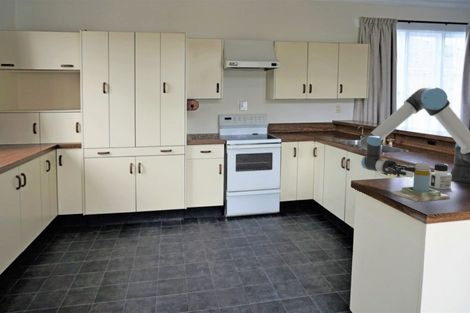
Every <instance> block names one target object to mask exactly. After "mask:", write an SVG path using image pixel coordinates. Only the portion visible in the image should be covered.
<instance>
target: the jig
mask: <svg viewBox="0 0 470 313" xmlns="http://www.w3.org/2000/svg"><path fill="white" fill-rule="evenodd" d="M392 194H393V195H397V196H399V197H402V198H405V199H407V200H410V201H414V202H416V203H417V202H426V201H427V202H428V201H438V200H448V199H450V198H451V196H450V195H447V194H444V193H442V191H440V190H438V189H432V188H430V187H429V192H423V193H420V192H417V191H413V186H405V187H401V190H392Z"/></svg>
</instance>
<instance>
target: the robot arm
mask: <svg viewBox="0 0 470 313" xmlns="http://www.w3.org/2000/svg"><path fill="white" fill-rule="evenodd" d="M450 105H451V102H450V100H448V94H447V92H446V91H445V90H444V89H443V88H440V87H435V86H430V87H421V88H420V89H417V90H416V91H415V92H413V93H412V94H411V95H410V96H409V97H408V98H407V99H406V100H404V101H403V105H401V106H400V107H399V108H398V109H397V110H396V111H394V112H393V113H392V114H391V115H389V116H388V117H387V118H386V119H385V120H383V122H382V123H381V124H379V125H378V126H377V127H375V129H373V130H372V131H371V132H370V133H369V134H367V135H366V136H363V137H362V138H361V139H360V140H359V145H360V147H361V148H362V149H363V150H365V151H366V154H365V155H364V157H363V158H362V160H361V161H360V162H361V163H360V164H361V166H362V168H363V169H366V170H368V171H372V172H373V171H374V172H378V173H381V174H387V175H393V176H397V177H400V176H402V177H407V178H410V179H411V178H413V179H414V172H415V170H416V165H405V164H397V162H396V161H395V160H391V159H386V158H381V150H382V149H381V148H382V141H383V140H384V139H385V138H387V137H388V135H390V134H391V133H392V132H394V130H396V129H397V128H398V127H399V126H400V125H401V124H403V123H404V122H405V121H407V119H409V118H410V117H411V116H413V114H415V115H416V114H417V113H418V112H421V111H422V110H425V111H426V112H427V114H428V115H429V116H430V117H435V119H436V120H437V122H439V124H441V126H442V127H443V129H445V130H446V132H447V133H448V135H450V137H451V138H452V139H453V140H454V141H455V145H454V146H455V147H454V157H453V166H452V169H451V171H450V173H449V174H451V175H452V179H451V181H453V182H457V183H466V184H468V183H469V184H470V130H469V128H468V127H467V126H466V125H465V124H464V123H463V121H462V120H461V119H460V118H459V116H458V115H457V114H456V113H455V112H454V111H453V109H452V108H451V107H450ZM429 172H430V175H431V172H432V169H430V168H429Z"/></svg>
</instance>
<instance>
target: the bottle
mask: <svg viewBox="0 0 470 313" xmlns="http://www.w3.org/2000/svg"><path fill="white" fill-rule="evenodd" d="M415 166H416V170H415V172H413V185H412V187H413V191H417V192H420V193H423V192H429V188H430V186H429V181H430V172H429V169H430V167H431V165H430V163H426V162H416V163H415Z"/></svg>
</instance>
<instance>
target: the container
mask: <svg viewBox="0 0 470 313" xmlns="http://www.w3.org/2000/svg"><path fill="white" fill-rule="evenodd" d="M433 168H434V170H433V171H434V172H433V171H431V175H430V181H429V188H430V187H431V188H434V189H436V190H446V189H451V188H452V180H451V179H452V175H451V174H450V173H449V165H448V164H446V163H439V162H438V163H435V164H434V167H433Z"/></svg>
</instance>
